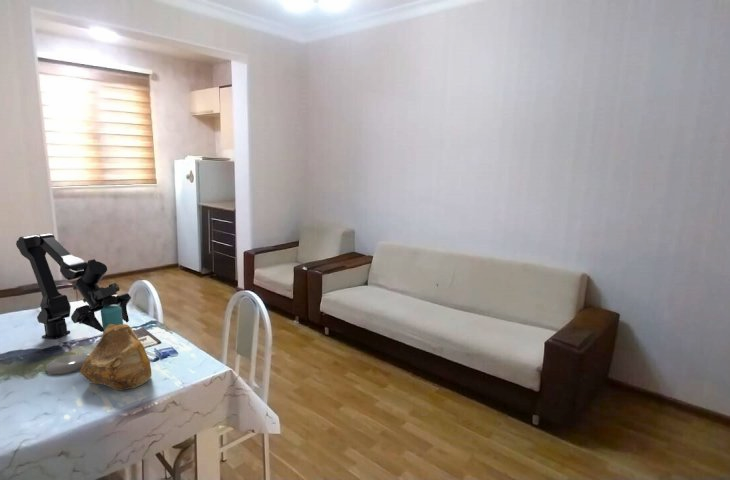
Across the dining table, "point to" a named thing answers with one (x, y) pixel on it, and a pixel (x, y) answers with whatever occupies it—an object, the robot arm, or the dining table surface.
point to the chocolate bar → (146, 337)
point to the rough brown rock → (118, 360)
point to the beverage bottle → (111, 312)
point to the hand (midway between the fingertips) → (115, 326)
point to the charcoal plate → (66, 364)
